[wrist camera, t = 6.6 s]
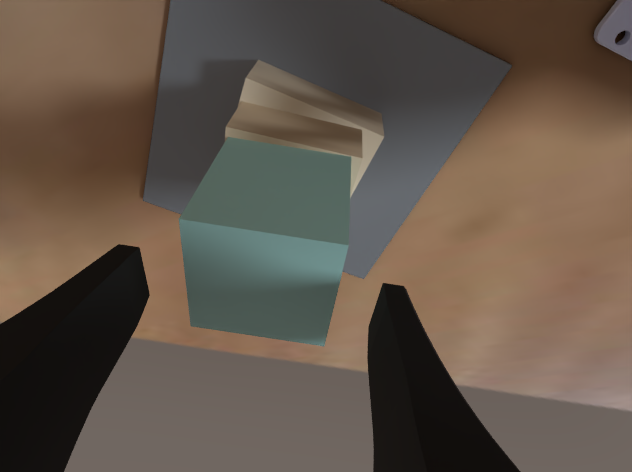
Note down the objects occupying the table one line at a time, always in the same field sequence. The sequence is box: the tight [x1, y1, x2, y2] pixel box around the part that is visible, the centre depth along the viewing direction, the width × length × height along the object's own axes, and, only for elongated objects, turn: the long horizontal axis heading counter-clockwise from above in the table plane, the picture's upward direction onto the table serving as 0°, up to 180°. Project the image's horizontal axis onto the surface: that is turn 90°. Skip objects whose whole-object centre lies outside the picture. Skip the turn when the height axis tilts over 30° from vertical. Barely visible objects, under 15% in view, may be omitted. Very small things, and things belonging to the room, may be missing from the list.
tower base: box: [238, 60, 384, 198], centre depth 19 cm, size 6×6×2 cm
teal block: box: [179, 137, 351, 346], centre depth 14 cm, size 4×4×5 cm
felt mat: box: [143, 0, 512, 279], centre depth 20 cm, size 14×14×1 cm
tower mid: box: [225, 101, 363, 196], centre depth 17 cm, size 5×5×2 cm
